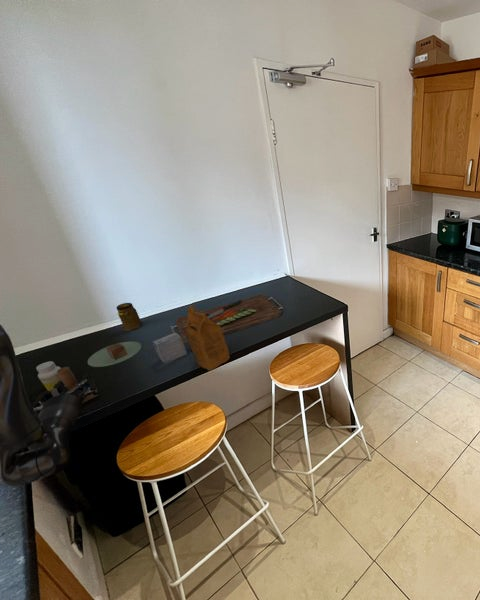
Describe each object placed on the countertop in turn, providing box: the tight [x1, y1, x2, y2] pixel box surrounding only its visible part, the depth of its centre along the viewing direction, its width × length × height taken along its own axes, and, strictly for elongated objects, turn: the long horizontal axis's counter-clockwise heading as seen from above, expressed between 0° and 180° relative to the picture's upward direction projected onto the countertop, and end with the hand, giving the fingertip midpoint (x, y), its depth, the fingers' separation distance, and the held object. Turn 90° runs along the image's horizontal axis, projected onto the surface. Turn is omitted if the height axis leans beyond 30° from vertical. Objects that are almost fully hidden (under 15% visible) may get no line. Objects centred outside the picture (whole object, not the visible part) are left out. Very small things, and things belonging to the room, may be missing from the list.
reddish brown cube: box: [105, 342, 127, 360], centre depth 118 cm, size 4×4×4 cm
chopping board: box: [169, 294, 285, 345], centre depth 145 cm, size 45×27×3 cm, turn 130°
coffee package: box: [187, 305, 231, 371], centre depth 113 cm, size 10×12×22 cm
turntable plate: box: [87, 341, 142, 368], centre depth 120 cm, size 16×16×1 cm
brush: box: [57, 366, 101, 409], centre depth 95 cm, size 7×3×14 cm, turn 151°
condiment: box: [116, 302, 144, 332], centre depth 135 cm, size 7×8×12 cm
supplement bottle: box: [35, 360, 67, 392], centre depth 102 cm, size 5×5×10 cm
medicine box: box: [151, 332, 188, 365], centre depth 117 cm, size 8×4×9 cm, turn 145°
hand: (74, 379), depth 96 cm, fingers open, 5 cm apart
